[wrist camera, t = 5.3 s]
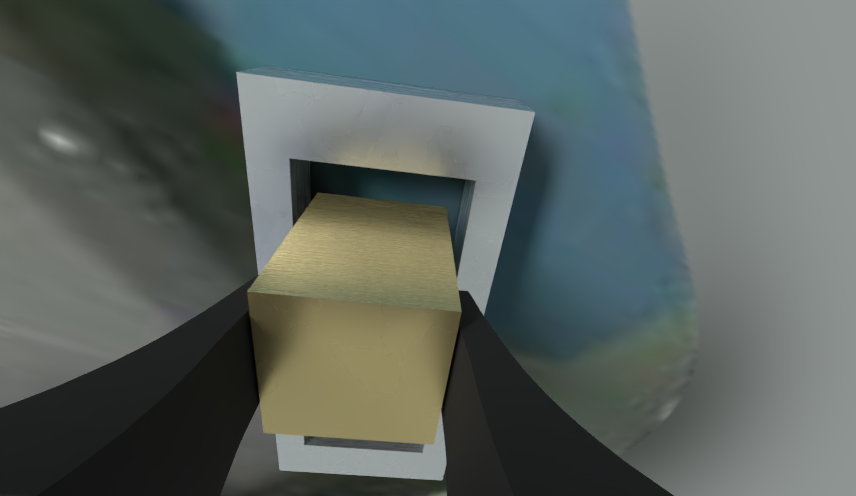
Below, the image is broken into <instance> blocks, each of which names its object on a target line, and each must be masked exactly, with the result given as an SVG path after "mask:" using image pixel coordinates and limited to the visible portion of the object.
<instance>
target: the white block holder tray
mask: <svg viewBox="0 0 856 496" xmlns="http://www.w3.org/2000/svg"><path fill="white" fill-rule="evenodd" d="M236 73H237V82H238V91H239V100H240V110H241V119H242V128H243V137H244V146H245V156H246V165H247V174H248V183H249V192H250V202H251V211H252V220H253V229H254V238H255V248H256V257H257V266H258V275H259V274H260V273H261V271H262V270H263V269H264V267H265V266H266V264H267V263H268V262H269V260H270V259H271V257H272V256H273V255H274V253H275V252H276V250H277V249H278V248H279V246H280V245H281V243H282V242H283V241H284V239H285V238H286V236H287V235H288V234H289V232H290V231H291V229H292V228H293V226H294V225H295V224H296V222H297V221H298V219H299V218H300V217H301V215H302V214H303V212H304V211H305V210H306V208H307V207H308V205H309V204H310V203H311V185H310V161H316V162H325V163H333V164H341V165H350V166H358V167H367V168H375V169H383V170H392V171H400V172H409V173H417V174H425V175H434V176H442V177H451V178H459V179H465V182H464V187H463V193H462V198H461V204H460V209H459V215H458V220H457V226H456V232H455V237H454V243H453V248H452V249H453V256H454V263H455V270H456V277H457V284H458V290H462V291H468V292H469V293H470V294H471V296H472V297H473V299H474V301H475V302H476V304H477V306H478V307H479V309H480V311H481V312H482V314H483V315H484V313H485V309H486V305H487V301H488V297H489V293H490V289H491V285H492V281H493V277H494V273H495V269H496V266H497V262H498V258H499V254H500V250H501V246H502V242H503V238H504V234H505V230H506V226H507V222H508V218H509V214H510V210H511V206H512V202H513V198H514V194H515V190H516V186H517V182H518V178H519V174H520V170H521V166H522V162H523V159H524V155H525V151H526V147H527V143H528V139H529V135H530V131H531V127H532V123H533V119H534V115H535V112H534V111H533V110H532V109H530V108H529V107H527V106H526V105H524V104H523V103H521V102H520V101H518V100H514V99H507V98H499V97H492V96H485V95H477V94H470V93H462V92H455V91H448V90H440V89H433V88H425V87H418V86H411V85H403V84H396V83H388V82H381V81H374V80H366V79H359V78H352V77H344V76H337V75H329V74H322V73H315V72H307V71H300V70H292V69H285V68H278V67H270V66H265V67H260V68H255V69H250V70H245V71H240V72H236ZM276 441H277V450H278V459H279V469H280V470H283V471H299V472H316V473H332V474H348V475H364V476H380V477H396V478H413V479H429V480H442V479H443V476H444V472H445V468H446V449H445V440H444V431H443V422H442V413H440V418H439V422H438V427H437V432H436V437H435V441H434V445H431V444H417V443H402V442H388V441H374V440H359V439H345V438H330V437H316V436H301V435H287V434H276Z"/></svg>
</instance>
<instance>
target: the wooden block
mask: <svg viewBox="0 0 856 496" xmlns="http://www.w3.org/2000/svg"><path fill="white" fill-rule="evenodd" d="M247 295H248V304H249V312H250V321H251V329H252V338H253V346H254V355H255V363H256V372H257V381H258V389H259V398H260V406H261V415H262V423H263V432H264V433H273V434H287V435H301V436H316V437H330V438H345V439H359V440H374V441H388V442H402V443H417V444H431V445H434V441H435V437H436V432H437V427H438V422H439V418H440V413H441V408H442V403H443V399H444V394H445V389H446V384H447V379H448V375H449V370H450V365H451V360H452V356H453V351H454V346H455V341H456V336H457V332H458V327H459V322H460V317H461V313H462V311H461V304H460V297H459V291H458V284H457V277H456V270H455V263H454V256H453V249H452V243H451V236H450V229H449V222H448V215H447V208H446V207H441V206H433V205H424V204H415V203H406V202H397V201H389V200H380V199H371V198H362V197H354V196H345V195H336V194H327V193H317V194H316V196H315V197H314V198H313V200H312V201H311V203H310V204H309V205H308V207H307V208H306V210H305V211H304V212H303V214H302V215H301V217H300V218H299V219H298V221H297V222H296V224H295V225H294V226H293V228H292V229H291V231H290V232H289V234H288V235H287V236H286V238H285V239H284V241H283V242H282V243H281V245H280V246H279V248H278V249H277V250H276V252H275V253H274V255H273V256H272V257H271V259H270V260H269V262H268V263H267V264H266V266H265V267H264V269H263V270H262V271H261V273H260V274H259V276H258V277H257V278H256V280H255V281H254V283H253V284H252V285H251V287H250V288H249V290H248V291H247Z"/></svg>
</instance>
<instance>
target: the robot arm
mask: <svg viewBox="0 0 856 496" xmlns="http://www.w3.org/2000/svg"><path fill="white" fill-rule="evenodd" d="M258 276H259V275H257V276H256V277H254V278H253V279H251V280H250V281H249V282H247V283H246V284H244V285H243V286H241V287H240V288H238V289H237V290H236V291H234V292H233V293H231V294H230V295H228V296H227V297H225V298H224V299H222V300H221V301H219V302H218V303H216V304H215V305H213V306H212V307H210V308H209V309H207V310H206V311H204V312H202V313H201V314H199V315H197V316H196V317H194V318H192V319H191V320H189V321H188V322H186V323H184V324H183V325H181V326H179V327H178V328H176V329H174V330H173V331H171V332H169V333H168V334H166V335H164V336H162V337H160V338H159V339H157V340H155V341H153V342H151V343H149V344H148V345H146V346H144V347H142V348H140V349H138V350H136V351H134V352H132V353H130V354H128V355H126V356H124V357H122V358H120V359H118V360H116V361H114V362H111V363H109V364H107V365H105V366H102V367H100V368H98V369H96V370H93V371H91V372H89V373H87V374H84V375H82V376H80V377H78V378H75V379H73V380H71V381H68V382H66V383H64V384H62V385H59V386H57V387H54V388H52V389H49V390H47V391H44V392H42V393H39V394H37V395H34V396H31V397H29V398H26V399H24V400H21V401H18V402H16V403H13V404H10V405H8V406H5V407H2V408H0V496H220V494H221V492H222V489H223V486H224V483H225V481H226V478H227V475H228V473H229V470H230V467H231V465H232V462H233V459H234V457H235V454H236V451H237V449H238V447H239V444H240V442H241V440H242V438H243V435H244V433H245V431H246V429H247V427H248V425H249V423H250V421H251V419H252V417H253V415H254V413H255V411H256V409H257V406H258V404H259V402H260V398H259V389H258V381H257V372H256V363H255V355H254V346H253V338H252V329H251V321H250V312H249V304H248V295H247V291H248V290H249V288H250V287H251V285H252V284H253V283H254V281H255V280H256V278H257V277H258ZM458 291H459V297H460V304H461V311H462V313H461V317H460V322H459V327H458V332H457V336H456V341H455V346H454V351H453V356H452V360H451V365H450V370H449V375H448V379H447V384H446V389H445V394H444V399H443V403H442V408H441V413H442V422H443V431H444V440H445V449H446V464H447V496H673V495H672V494H671V493H669V492H668V491H666V490H665V489H663V488H662V487H660V486H659V485H658V484H656V483H655V482H653V481H652V480H651V479H649V478H648V477H646V476H645V475H643V474H642V473H641V472H639V471H638V470H636V469H635V468H633V467H632V466H630V465H629V464H628V463H626V462H625V461H623V460H622V459H621V458H620V457H618V456H617V455H616V454H615V453H613V452H612V451H611V450H610V449H608V448H607V447H606V446H604V445H603V444H602V443H601V442H599V441H598V440H597V439H596V438H594V437H593V436H592V435H591V434H590V433H588V432H587V431H586V430H585V429H584V428H582V427H581V426H580V425H579V424H578V423H577V422H576V421H575V420H573V419H572V418H571V417H570V416H569V415H568V414H567V413H566V412H565V411H563V410H562V409H561V408H560V407H559V406H558V405H557V404H556V403H555V402H554V401H553V400H552V399H551V398H550V397H549V396H548V395H547V394H546V393H545V392H544V391H543V390H542V389H541V388H540V387H539V386H538V385H537V384H536V383H535V382H534V381H533V380H532V379H531V377H530V376H529V375H528V374H527V373H526V372H525V371H524V369H523V368H522V367H521V366H520V365H519V363H518V362H517V361H516V360H515V358H514V357H513V356H512V355H511V354H510V352H509V351H508V350H507V348H506V347H505V346H504V344H503V343H502V341H501V340H500V339H499V337H498V336H497V334H496V333H495V332H494V330H493V329H492V327H491V326H490V324H489V323H488V321H487V320H486V318H485V317H484V315H483V314H482V312H481V311H480V309H479V307H478V306H477V304H476V302H475V301H474V299H473V297H472V296H471V294H470V293H469V292H468V291H462V290H458Z"/></svg>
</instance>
